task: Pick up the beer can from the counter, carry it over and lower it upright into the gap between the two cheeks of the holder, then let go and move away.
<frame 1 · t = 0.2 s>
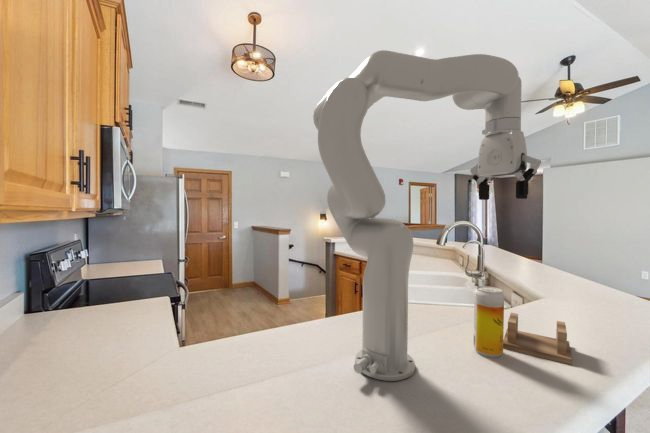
hand: (501, 199, 73), 36 cm above the countertop, tool pointing down, fingers open, 9 cm apart
beer can: (487, 353, 70), on the countertop
holder: (535, 347, 72), on the countertop
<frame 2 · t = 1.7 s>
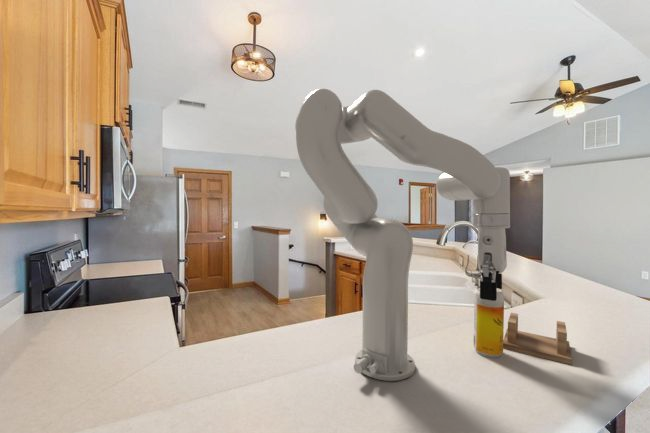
hand: (491, 294, 70), 14 cm above the countertop, tool pointing down, fingers open, 9 cm apart
nothing on the countertop moved.
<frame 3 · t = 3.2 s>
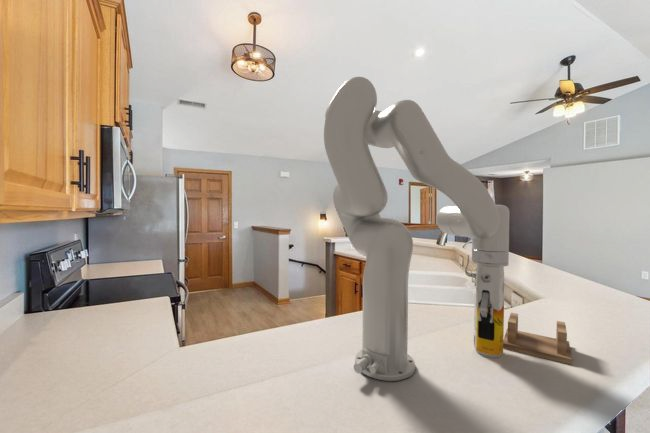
hand: (488, 332, 70), 5 cm above the countertop, tool pointing down, fingers closed on beer can, 6 cm apart
beer can: (487, 353, 70), on the countertop, touching gripper
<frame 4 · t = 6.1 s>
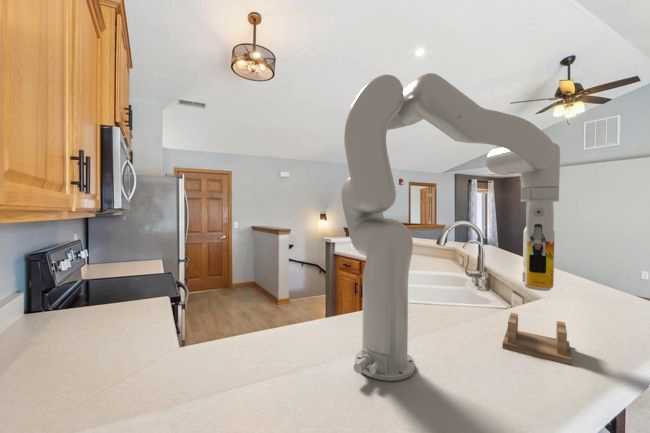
hand: (537, 269, 72), 19 cm above the countertop, tool pointing down, fingers closed on beer can, 6 cm apart
beer can: (537, 288, 72), point 14 cm above the countertop, touching gripper
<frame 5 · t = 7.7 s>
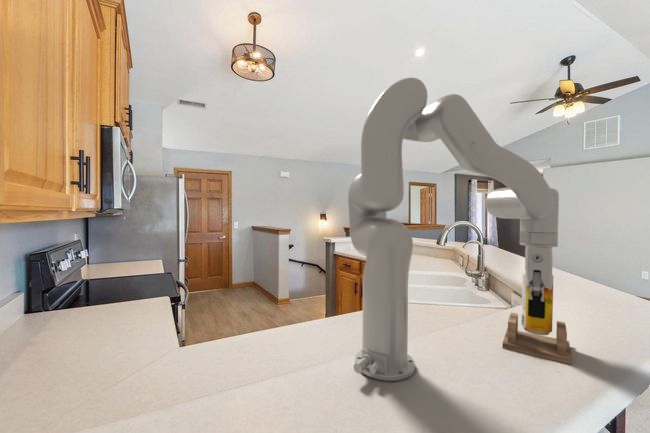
hand: (536, 312, 72), 9 cm above the countertop, tool pointing down, fingers closed on beer can, 6 cm apart
beer can: (536, 331, 72), point 4 cm above the countertop, touching gripper
when the fingers open (7 cm above the countertop, at t = 9.0 s): beer can drops 1 cm, resting on holder.
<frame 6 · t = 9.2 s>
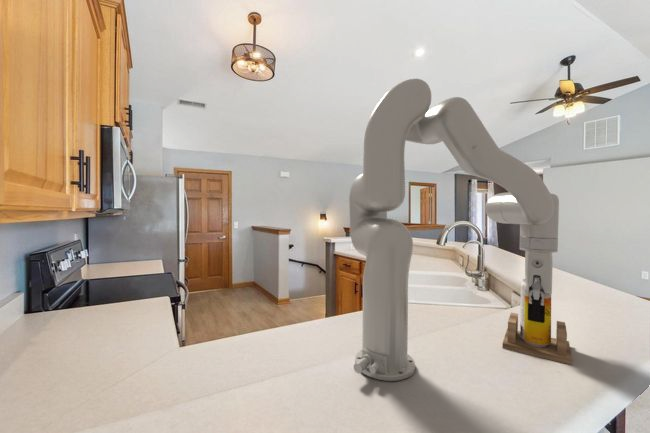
hand: (536, 315, 72), 8 cm above the countertop, tool pointing down, fingers open, 8 cm apart
beer can: (535, 343, 72), point 1 cm above the countertop, touching holder
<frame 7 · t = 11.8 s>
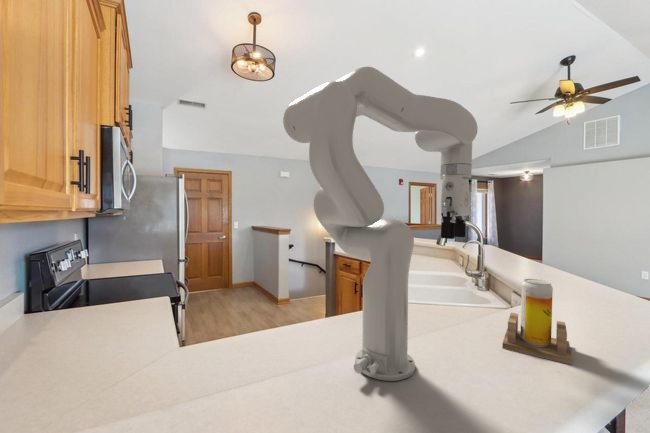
hand: (453, 237, 78), 26 cm above the countertop, tool pointing down, fingers open, 9 cm apart
nothing on the countertop moved.
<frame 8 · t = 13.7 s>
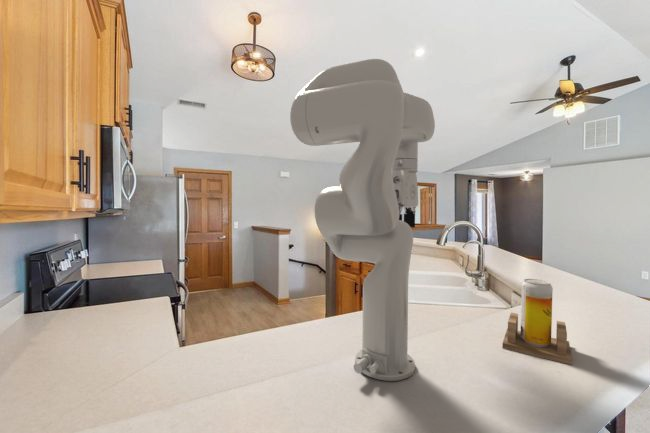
hand: (402, 228, 84), 28 cm above the countertop, tool pointing down, fingers open, 9 cm apart
nothing on the countertop moved.
at the end: beer can 0.2 cm off-centre on the holder, point 1.0 cm above the holder's base; beer can tilted 0°; the gripper is holding nothing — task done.
